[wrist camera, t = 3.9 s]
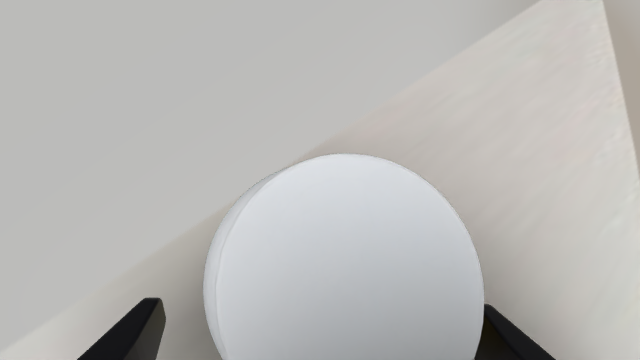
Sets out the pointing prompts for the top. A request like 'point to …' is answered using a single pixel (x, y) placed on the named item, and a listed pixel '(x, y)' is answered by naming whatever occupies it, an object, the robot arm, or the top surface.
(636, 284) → the top surface
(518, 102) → the top surface
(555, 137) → the top surface
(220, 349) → the supplement bottle
